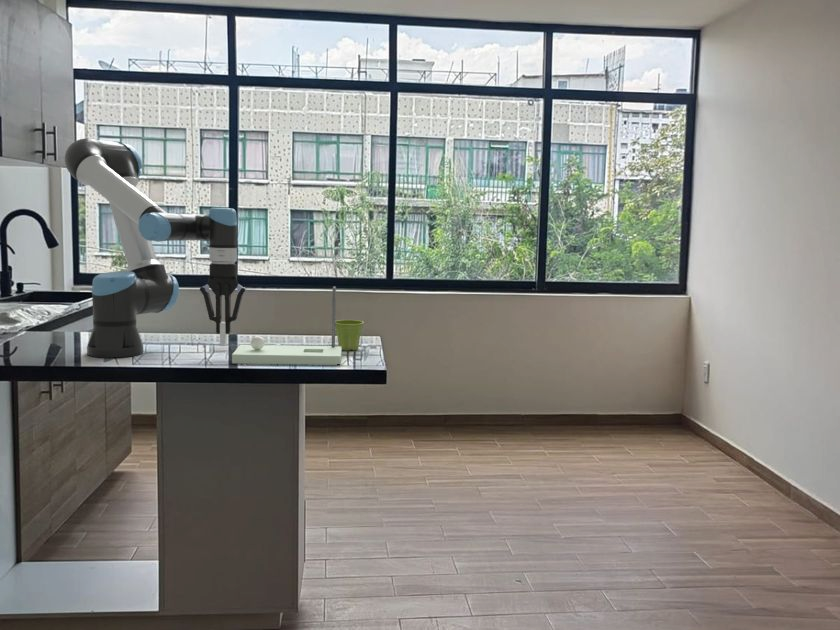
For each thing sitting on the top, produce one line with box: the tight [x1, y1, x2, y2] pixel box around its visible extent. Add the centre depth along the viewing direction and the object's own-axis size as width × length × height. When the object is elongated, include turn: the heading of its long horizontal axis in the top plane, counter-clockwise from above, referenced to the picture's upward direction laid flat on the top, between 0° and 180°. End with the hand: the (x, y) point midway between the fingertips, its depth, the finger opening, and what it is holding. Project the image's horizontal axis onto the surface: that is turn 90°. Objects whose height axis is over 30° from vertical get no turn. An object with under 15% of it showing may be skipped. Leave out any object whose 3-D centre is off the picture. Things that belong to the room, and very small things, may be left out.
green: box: [231, 286, 343, 366], centre depth 222 cm, size 30×20×20 cm, turn 95°
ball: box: [250, 335, 266, 350], centre depth 220 cm, size 4×4×4 cm
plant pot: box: [335, 319, 364, 351], centre depth 240 cm, size 9×9×9 cm
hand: (223, 344), depth 220 cm, fingers closed
